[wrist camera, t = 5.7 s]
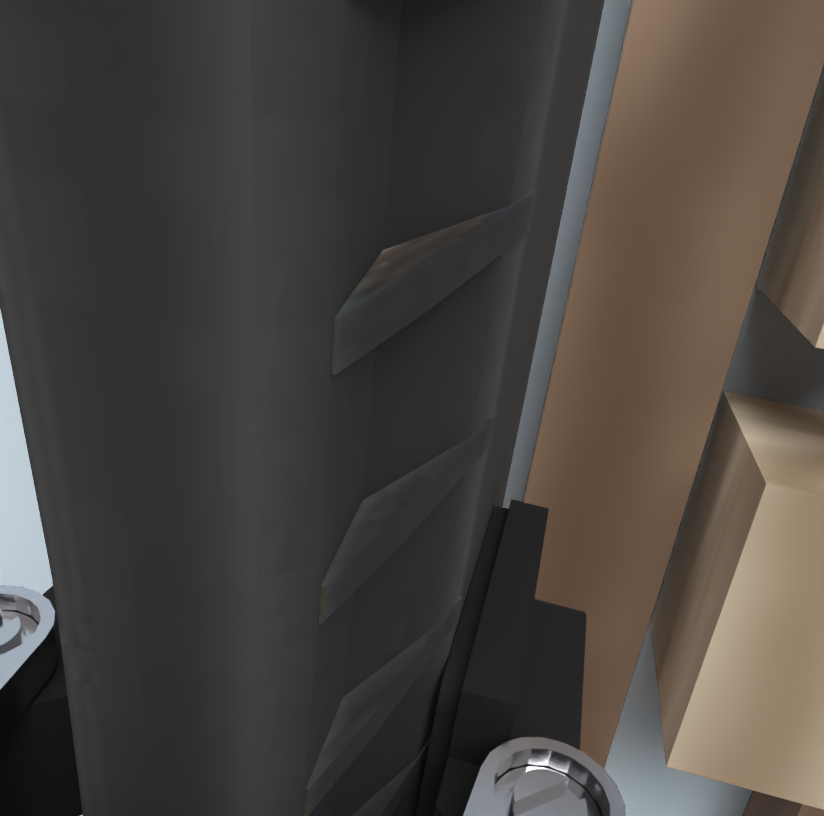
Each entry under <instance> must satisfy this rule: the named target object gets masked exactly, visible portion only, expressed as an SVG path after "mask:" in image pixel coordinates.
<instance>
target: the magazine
mask: <svg viewBox="0 0 824 816" xmlns="http://www.w3.org/2000/svg"><path fill="white" fill-rule="evenodd" d="M603 5H604V0H0V309H1V313H2V318H3V324H4V329H5V334H6V339H7V344H8V350H9V355H10V360H11V365H12V370H13V376H14V381H15V386H16V391H17V397H18V402H19V407H20V412H21V417H22V423H23V428H24V433H25V438H26V443H27V449H28V454H29V459H30V464H31V470H32V475H33V480H34V485H35V490H36V496H37V501H38V506H39V511H40V516H41V522H42V527H43V532H44V537H45V543H46V548H47V553H48V558H49V563H50V569H51V574H52V579H53V587H54V595H55V602H56V610H57V618H58V626H59V633H60V641H61V649H62V656H63V664H64V672H65V680H66V687H67V695H68V703H69V710H70V718H71V726H72V734H73V741H74V749H75V757H76V764H77V772H78V780H79V788H80V797H81V805H82V813H83V816H416V812H417V806H418V801H419V796H420V791H421V785H422V780H423V775H424V770H425V764H426V759H427V754H428V749H429V743H430V738H431V733H432V728H433V722H434V717H435V712H436V707H437V702H438V698H439V693H440V689H441V685H442V681H443V677H444V673H445V669H446V666H447V662H448V659H449V656H450V652H451V649H452V646H453V642H454V639H455V636H456V632H457V629H458V626H459V622H460V619H461V616H462V612H463V609H464V606H465V602H466V599H467V596H468V592H469V589H470V586H471V582H472V579H473V576H474V572H475V569H476V566H477V562H478V559H479V556H480V552H481V549H482V546H483V542H484V539H485V536H486V532H487V529H488V526H489V523H490V519H491V516H492V513H493V509H494V506H498V507H502V505H503V500H504V495H505V490H506V486H507V481H508V476H509V471H510V466H511V461H512V456H513V451H514V447H515V442H516V437H517V432H518V427H519V422H520V417H521V412H522V407H523V402H524V398H525V393H526V388H527V383H528V378H529V373H530V368H531V363H532V358H533V353H534V348H535V343H536V339H537V334H538V329H539V324H540V319H541V314H542V309H543V304H544V299H545V294H546V289H547V284H548V279H549V274H550V269H551V264H552V259H553V255H554V250H555V245H556V240H557V235H558V230H559V225H560V220H561V215H562V210H563V205H564V200H565V195H566V190H567V185H568V180H569V175H570V170H571V165H572V160H573V155H574V150H575V145H576V140H577V135H578V130H579V125H580V120H581V115H582V110H583V105H584V100H585V95H586V90H587V85H588V80H589V75H590V70H591V65H592V60H593V55H594V50H595V45H596V40H597V35H598V30H599V25H600V20H601V15H602V10H603Z"/></svg>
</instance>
